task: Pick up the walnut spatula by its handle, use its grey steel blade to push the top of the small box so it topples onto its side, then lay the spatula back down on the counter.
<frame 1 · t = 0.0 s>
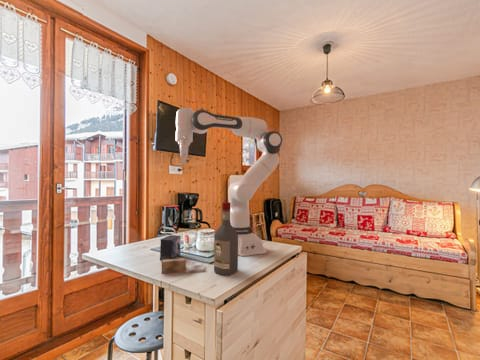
hand: (184, 164, 130), 48 cm above the table, tool pointing down, fingers open, 8 cm apart
small box: (170, 258, 125), on the table
liquor: (225, 271, 107), on the table
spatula: (183, 270, 108), on the table
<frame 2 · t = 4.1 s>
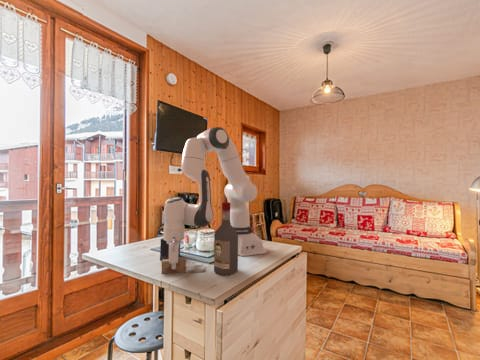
hand: (173, 266, 107), 2 cm above the table, tool pointing down, fingers closed on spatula, 3 cm apart
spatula: (183, 270, 108), on the table, touching gripper
everything else where it was.
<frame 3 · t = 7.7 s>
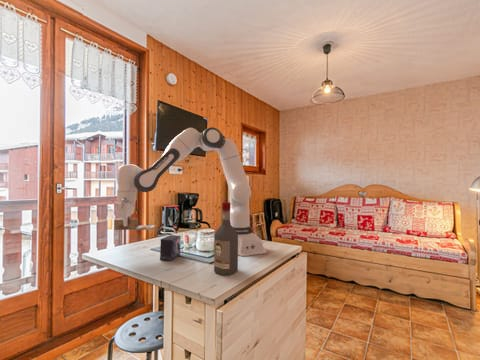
hand: (126, 225, 120), 17 cm above the table, tool pointing down, fingers closed on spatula, 3 cm apart
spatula: (135, 228, 121), point 15 cm above the table, touching gripper
everything else where it was.
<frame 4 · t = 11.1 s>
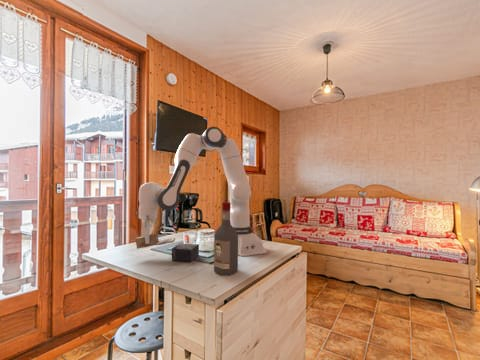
hand: (148, 242, 123), 8 cm above the table, tool pointing down, fingers closed on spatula, 3 cm apart
small box: (175, 251, 125), point 3 cm above the table
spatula: (156, 244, 123), point 7 cm above the table, tilted 10°, touching gripper
everything else where it was.
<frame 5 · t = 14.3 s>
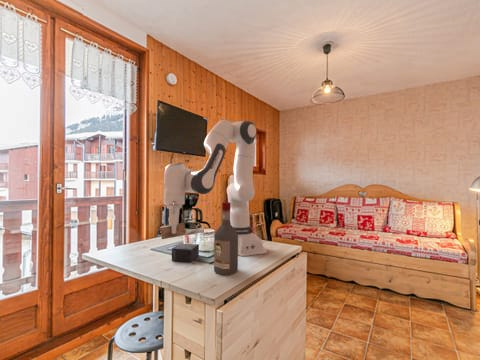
hand: (174, 232, 107), 17 cm above the table, tool pointing down, fingers closed on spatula, 3 cm apart
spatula: (183, 234, 107), point 16 cm above the table, tilted 10°, touching gripper
everything else where it was.
when the fingers open (3 cm above the table, at t = 17.3 s): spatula drops 2 cm, on the table.
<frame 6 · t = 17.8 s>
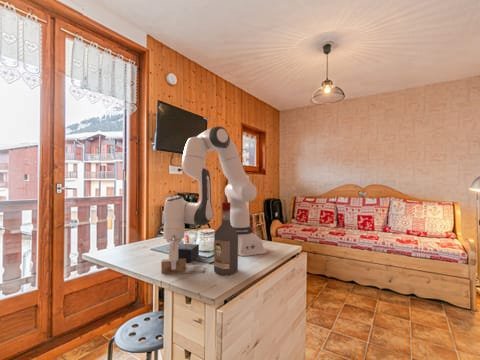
hand: (173, 265, 107), 3 cm above the table, tool pointing down, fingers open, 8 cm apart
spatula: (183, 271, 107), on the table
everything else where it was.
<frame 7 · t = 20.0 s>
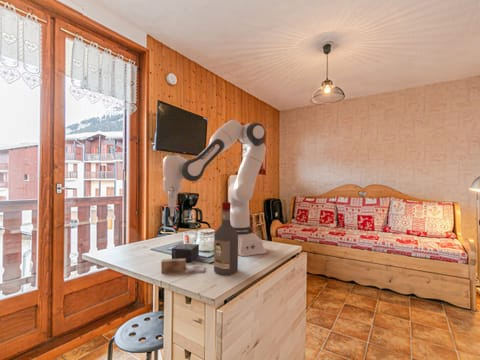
hand: (172, 215, 121), 22 cm above the table, tool pointing down, fingers open, 8 cm apart
nothing on the table moved.
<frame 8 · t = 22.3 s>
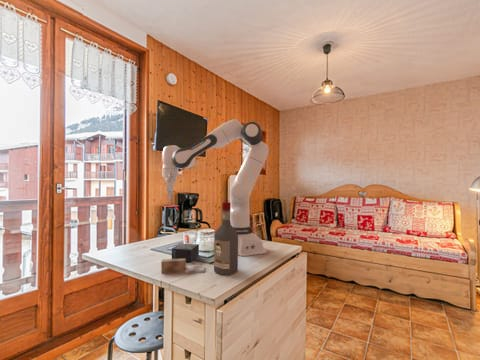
hand: (170, 198, 138), 29 cm above the table, tool pointing down, fingers open, 8 cm apart
nothing on the table moved.
at the end: small box tilted 89°; the gripper is holding nothing; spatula inside the target area (0.3 cm from its centre), on the table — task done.
